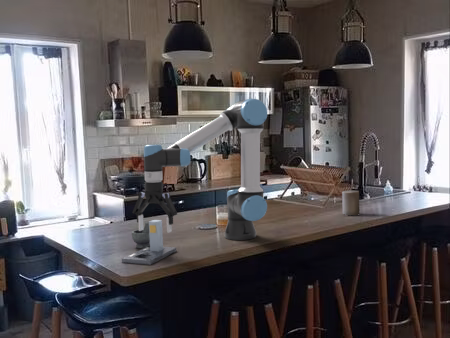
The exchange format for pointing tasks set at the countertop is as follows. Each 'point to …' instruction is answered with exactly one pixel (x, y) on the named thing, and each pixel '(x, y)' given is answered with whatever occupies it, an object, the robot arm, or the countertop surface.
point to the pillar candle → (350, 202)
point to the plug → (156, 235)
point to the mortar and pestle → (142, 236)
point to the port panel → (148, 256)
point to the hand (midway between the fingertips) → (155, 231)
